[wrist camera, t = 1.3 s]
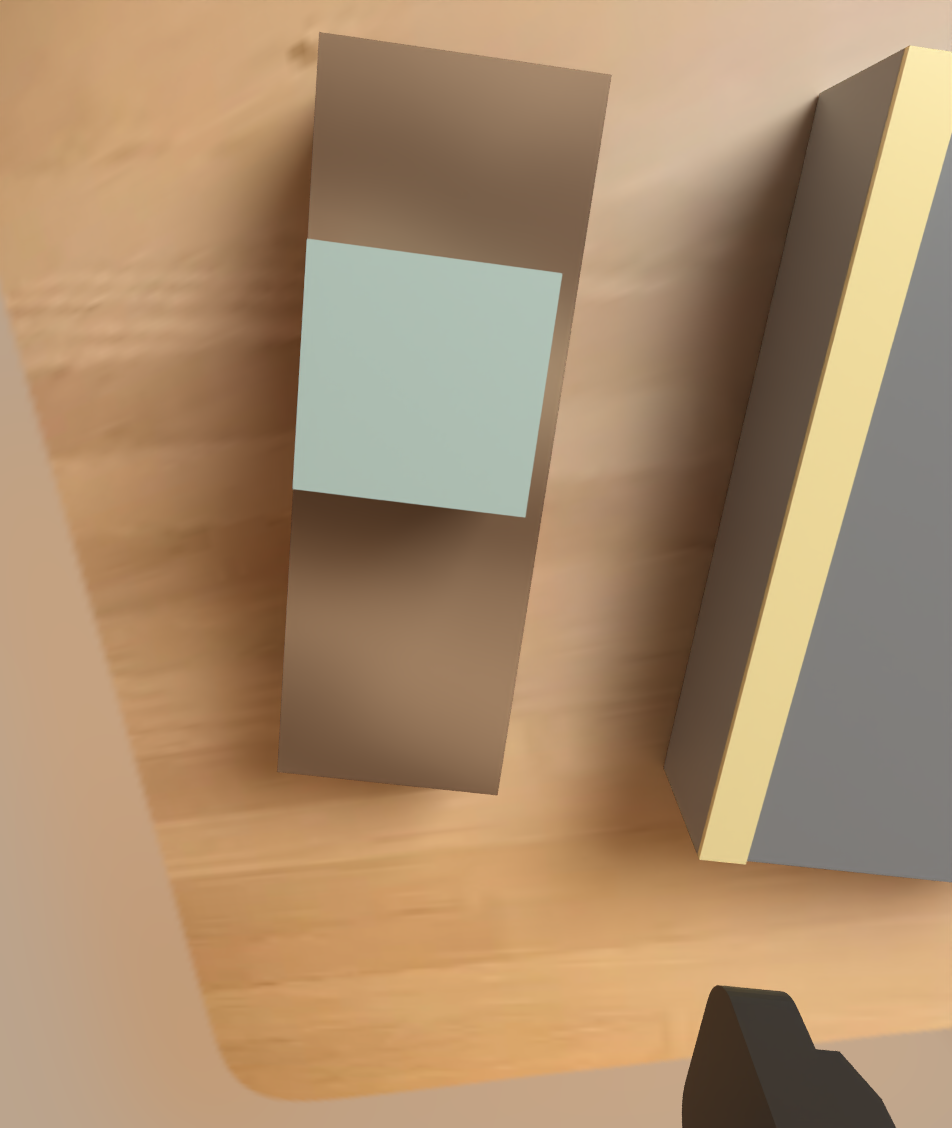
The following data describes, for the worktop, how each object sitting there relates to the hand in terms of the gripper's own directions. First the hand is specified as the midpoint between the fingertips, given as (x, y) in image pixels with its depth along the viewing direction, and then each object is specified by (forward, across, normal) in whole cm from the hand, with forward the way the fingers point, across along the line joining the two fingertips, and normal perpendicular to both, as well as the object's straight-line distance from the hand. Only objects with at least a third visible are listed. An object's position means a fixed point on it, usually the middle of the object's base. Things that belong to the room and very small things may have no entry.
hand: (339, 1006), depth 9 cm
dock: (+14, -13, -4) cm, 20 cm away
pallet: (+15, 0, -4) cm, 15 cm away
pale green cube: (+11, 0, -6) cm, 12 cm away
